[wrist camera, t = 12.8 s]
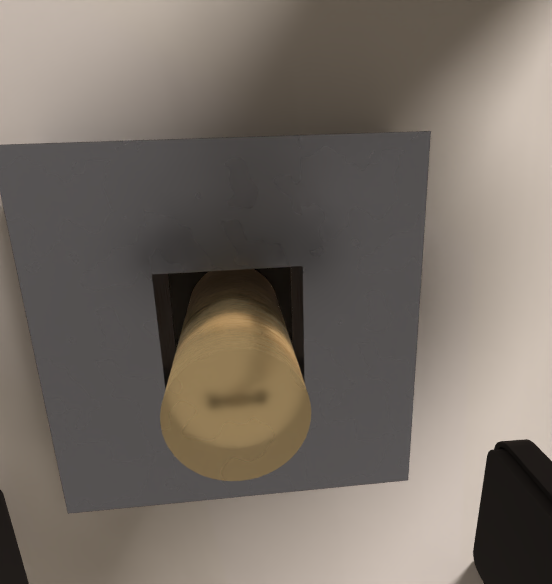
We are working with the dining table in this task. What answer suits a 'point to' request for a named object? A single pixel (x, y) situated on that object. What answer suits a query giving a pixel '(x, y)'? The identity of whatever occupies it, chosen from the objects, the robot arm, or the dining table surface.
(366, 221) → the socket block
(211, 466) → the brass peg
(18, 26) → the dining table surface
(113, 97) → the dining table surface
